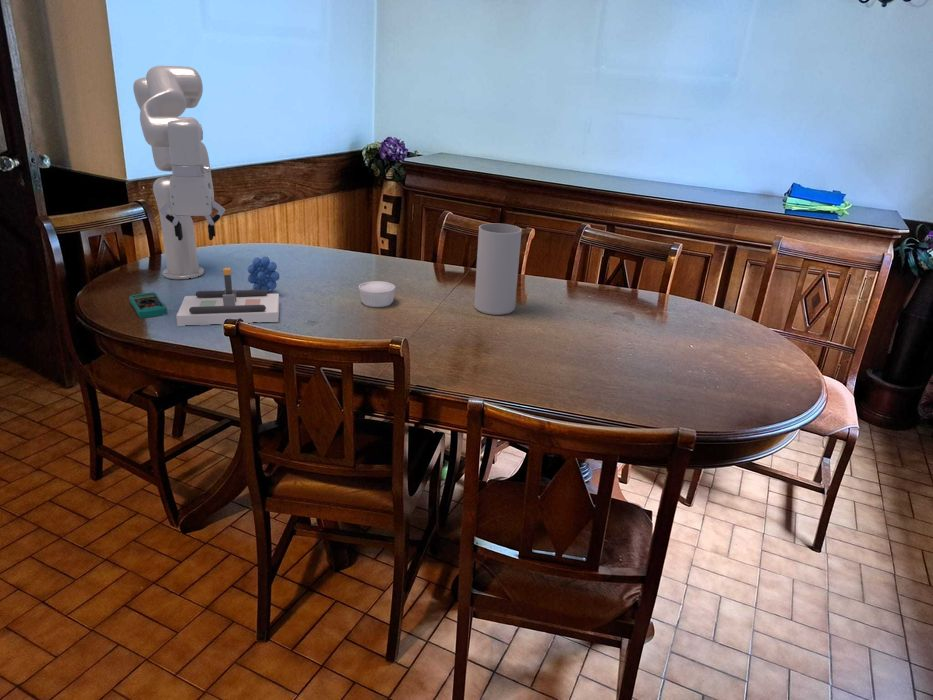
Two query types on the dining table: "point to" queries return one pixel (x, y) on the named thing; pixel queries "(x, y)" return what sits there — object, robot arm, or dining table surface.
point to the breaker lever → (228, 280)
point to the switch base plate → (218, 318)
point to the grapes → (263, 274)
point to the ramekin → (376, 293)
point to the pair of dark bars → (229, 308)
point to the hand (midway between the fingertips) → (196, 238)
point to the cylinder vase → (497, 268)
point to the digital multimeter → (147, 305)
